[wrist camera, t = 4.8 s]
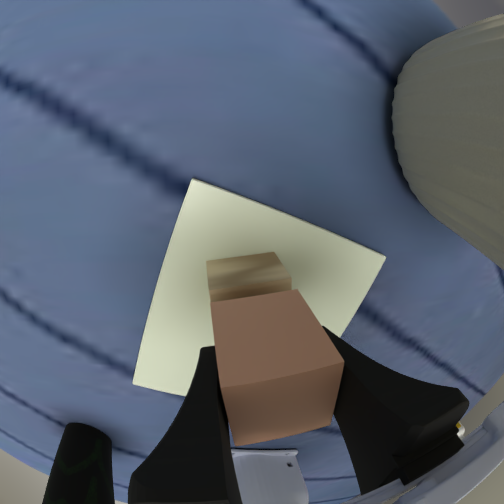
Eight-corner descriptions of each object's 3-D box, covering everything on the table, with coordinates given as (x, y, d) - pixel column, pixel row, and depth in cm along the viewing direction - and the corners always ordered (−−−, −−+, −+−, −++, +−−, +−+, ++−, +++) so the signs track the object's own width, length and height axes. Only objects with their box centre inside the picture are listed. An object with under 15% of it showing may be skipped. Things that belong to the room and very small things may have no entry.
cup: (109, 421, 21) (102, 526, 10) (127, 455, 24) (129, 541, 13) (46, 412, 20) (25, 505, 9) (71, 448, 22) (62, 527, 11)
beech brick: (273, 251, 17) (291, 277, 14) (276, 308, 18) (291, 340, 15) (206, 260, 16) (208, 290, 13) (214, 317, 18) (219, 352, 15)
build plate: (381, 254, 19) (386, 257, 19) (286, 404, 24) (288, 408, 23) (192, 177, 15) (192, 179, 14) (133, 378, 19) (132, 383, 19)
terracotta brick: (297, 288, 13) (344, 361, 8) (295, 352, 14) (330, 424, 10) (209, 302, 12) (220, 387, 8) (221, 366, 14) (235, 446, 9)
